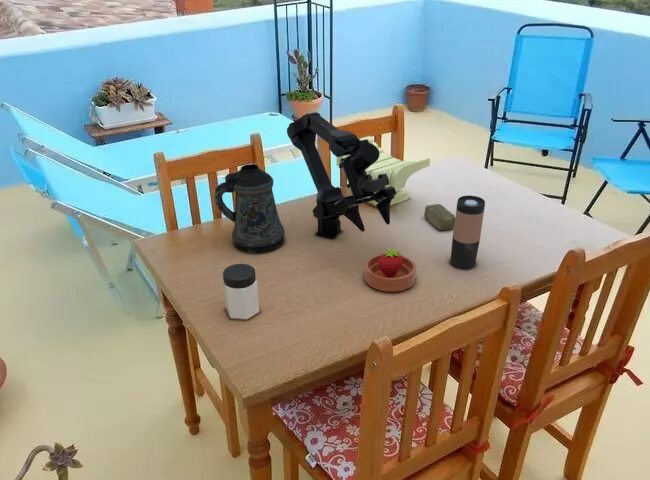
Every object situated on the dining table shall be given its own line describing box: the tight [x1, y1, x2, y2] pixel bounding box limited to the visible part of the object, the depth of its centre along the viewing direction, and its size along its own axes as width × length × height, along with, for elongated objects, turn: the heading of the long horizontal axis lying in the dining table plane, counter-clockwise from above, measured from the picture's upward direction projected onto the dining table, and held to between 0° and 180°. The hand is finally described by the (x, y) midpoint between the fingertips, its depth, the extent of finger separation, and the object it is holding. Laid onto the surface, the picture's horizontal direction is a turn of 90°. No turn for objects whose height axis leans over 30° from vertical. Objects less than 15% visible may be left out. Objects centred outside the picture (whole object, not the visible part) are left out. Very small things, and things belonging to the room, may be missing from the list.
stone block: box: [423, 203, 455, 231], centre depth 193 cm, size 6×12×5 cm, turn 19°
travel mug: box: [450, 195, 486, 270], centre depth 167 cm, size 8×8×20 cm
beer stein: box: [214, 163, 286, 254], centre depth 178 cm, size 16×19×25 cm
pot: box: [364, 253, 417, 293], centre depth 164 cm, size 14×14×5 cm
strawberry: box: [378, 245, 403, 278], centre depth 162 cm, size 6×8×10 cm
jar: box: [222, 263, 260, 320], centre depth 150 cm, size 9×8×12 cm
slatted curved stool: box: [336, 135, 431, 208], centre depth 207 cm, size 30×16×18 cm, turn 38°
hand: (376, 227), depth 164 cm, fingers open, 9 cm apart
